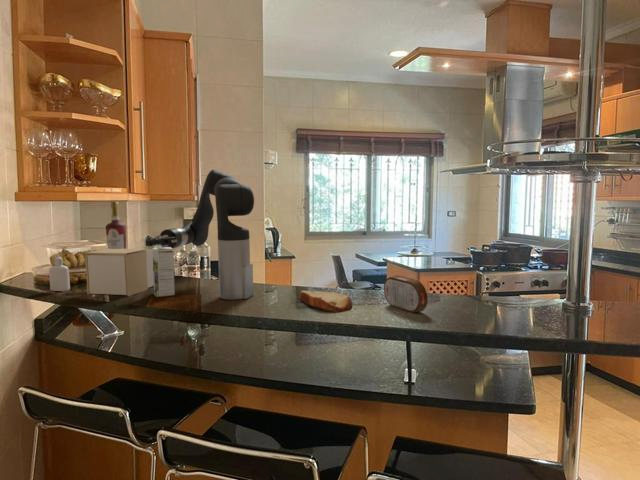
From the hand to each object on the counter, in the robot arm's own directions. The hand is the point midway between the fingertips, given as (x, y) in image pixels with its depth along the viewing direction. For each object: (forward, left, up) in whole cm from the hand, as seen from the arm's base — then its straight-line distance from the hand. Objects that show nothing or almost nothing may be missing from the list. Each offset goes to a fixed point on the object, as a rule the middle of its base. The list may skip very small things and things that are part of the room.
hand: (147, 243), depth 168 cm
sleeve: (0, +17, -14) cm, 22 cm away
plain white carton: (0, +14, -13) cm, 19 cm away
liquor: (+22, -13, -14) cm, 29 cm away
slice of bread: (-68, +21, -14) cm, 72 cm away
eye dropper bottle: (+20, +19, -14) cm, 31 cm away
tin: (-90, +23, -14) cm, 94 cm away
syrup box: (-17, +18, -14) cm, 29 cm away
